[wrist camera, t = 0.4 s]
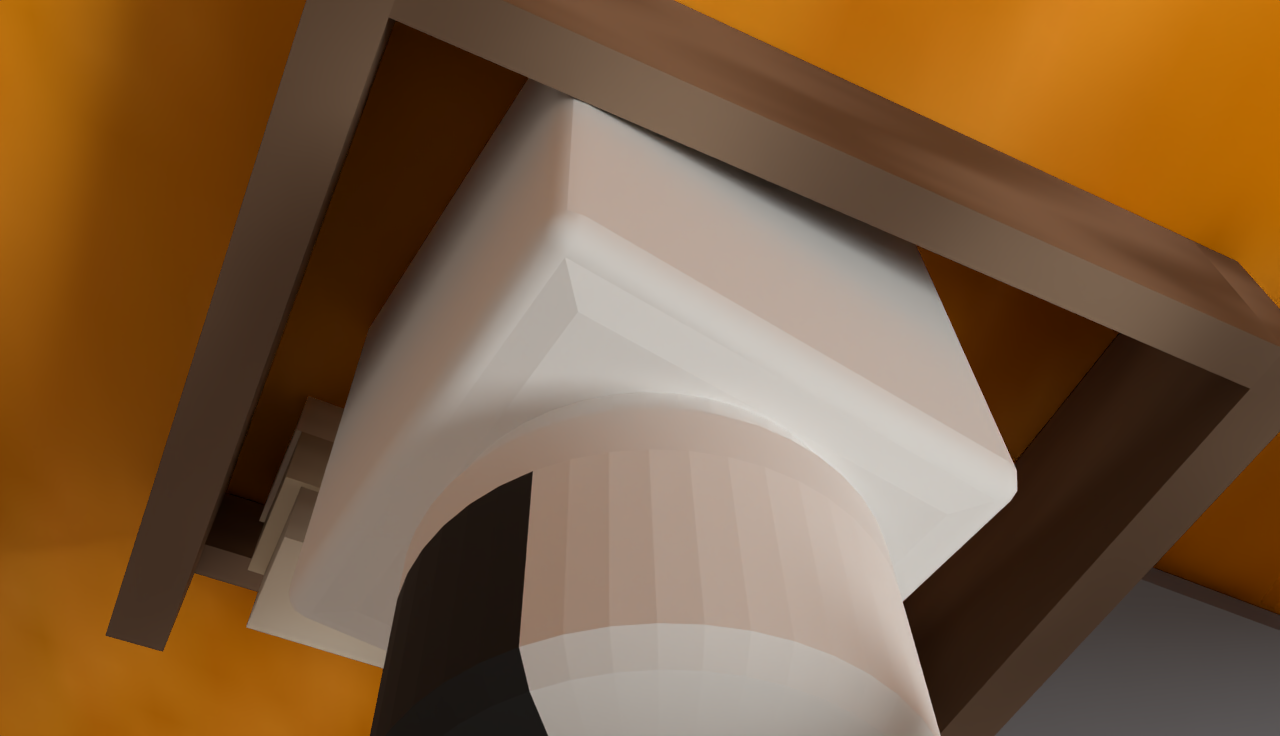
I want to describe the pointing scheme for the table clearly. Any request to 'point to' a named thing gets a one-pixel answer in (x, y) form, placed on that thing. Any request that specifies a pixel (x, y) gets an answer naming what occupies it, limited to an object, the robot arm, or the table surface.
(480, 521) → the medicine bottle
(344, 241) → the table surface
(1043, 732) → the rubber mat
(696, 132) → the walnut rack
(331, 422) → the offcut stack
